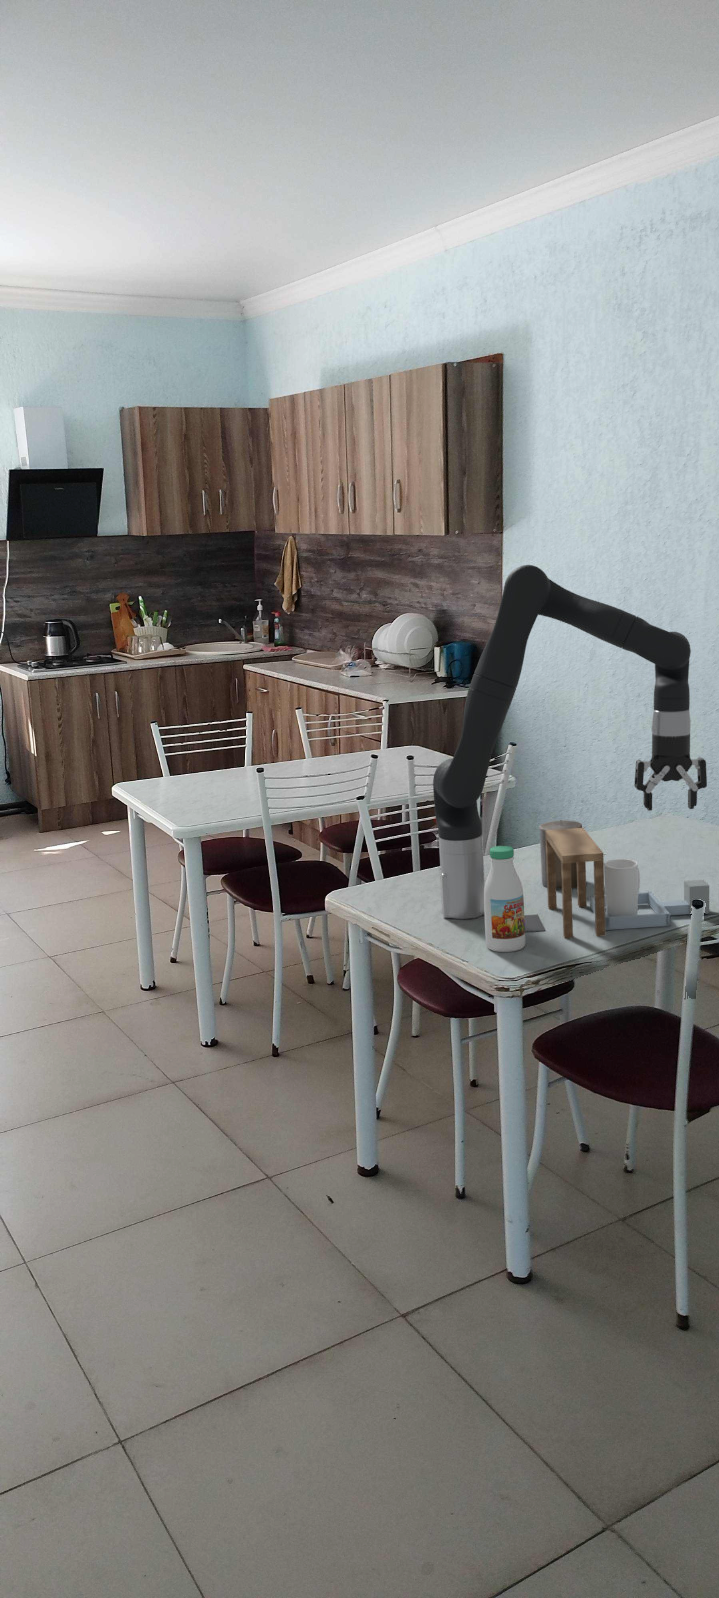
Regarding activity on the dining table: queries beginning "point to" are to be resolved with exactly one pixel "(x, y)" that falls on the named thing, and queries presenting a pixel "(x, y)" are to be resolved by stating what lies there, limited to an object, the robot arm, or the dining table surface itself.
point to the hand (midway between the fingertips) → (670, 809)
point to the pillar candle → (555, 826)
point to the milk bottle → (504, 903)
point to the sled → (659, 907)
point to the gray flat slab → (533, 923)
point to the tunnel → (581, 850)
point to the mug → (621, 887)
